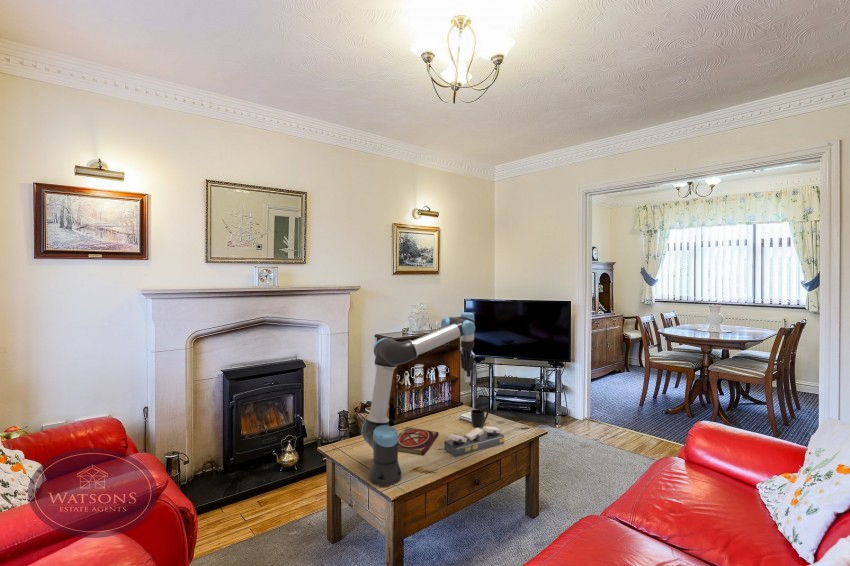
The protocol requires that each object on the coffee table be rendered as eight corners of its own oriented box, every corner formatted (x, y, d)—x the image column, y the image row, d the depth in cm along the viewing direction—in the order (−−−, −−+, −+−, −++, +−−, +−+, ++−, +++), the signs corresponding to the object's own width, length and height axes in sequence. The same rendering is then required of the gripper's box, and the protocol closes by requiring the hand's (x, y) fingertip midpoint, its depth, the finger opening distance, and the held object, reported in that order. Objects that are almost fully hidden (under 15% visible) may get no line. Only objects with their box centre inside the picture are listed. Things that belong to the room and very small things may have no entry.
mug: (491, 426, 267) (491, 411, 267) (475, 429, 262) (475, 414, 262) (484, 422, 275) (484, 407, 274) (468, 425, 270) (468, 410, 269)
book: (424, 457, 226) (424, 448, 226) (387, 451, 232) (387, 442, 232) (438, 437, 253) (438, 429, 253) (405, 432, 259) (405, 424, 259)
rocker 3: (488, 434, 238) (489, 429, 238) (482, 431, 243) (483, 426, 243) (499, 435, 243) (501, 430, 243) (494, 432, 247) (495, 427, 247)
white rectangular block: (471, 442, 233) (470, 437, 232) (466, 439, 237) (465, 434, 237) (484, 435, 237) (483, 430, 236) (478, 432, 241) (477, 427, 241)
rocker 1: (452, 442, 226) (454, 436, 226) (447, 439, 231) (449, 433, 231) (465, 445, 230) (467, 439, 231) (460, 441, 235) (461, 436, 235)
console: (454, 457, 224) (455, 447, 224) (444, 449, 233) (444, 441, 233) (504, 443, 241) (504, 435, 241) (493, 437, 250) (493, 429, 250)
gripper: (480, 341, 232) (479, 383, 233) (466, 337, 244) (465, 378, 245) (468, 342, 229) (468, 385, 230) (455, 339, 240) (455, 380, 241)
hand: (467, 381), depth 237 cm, fingers closed
